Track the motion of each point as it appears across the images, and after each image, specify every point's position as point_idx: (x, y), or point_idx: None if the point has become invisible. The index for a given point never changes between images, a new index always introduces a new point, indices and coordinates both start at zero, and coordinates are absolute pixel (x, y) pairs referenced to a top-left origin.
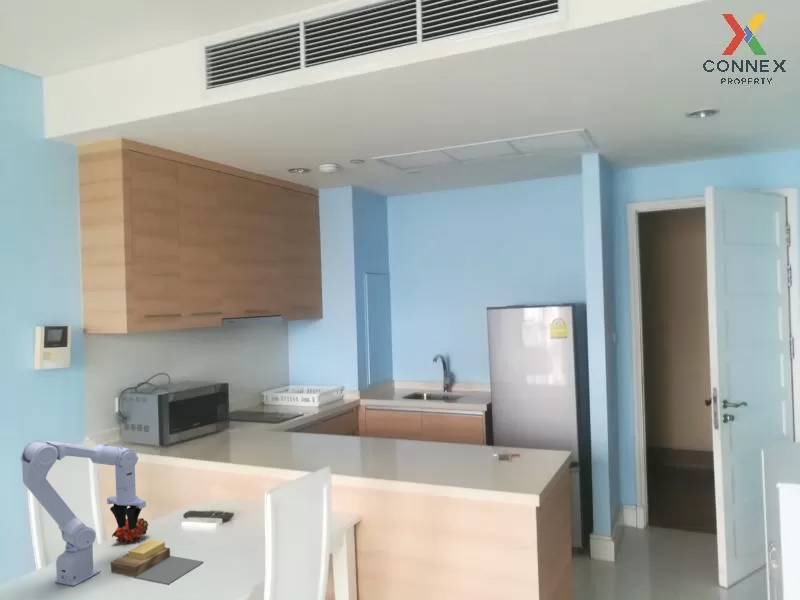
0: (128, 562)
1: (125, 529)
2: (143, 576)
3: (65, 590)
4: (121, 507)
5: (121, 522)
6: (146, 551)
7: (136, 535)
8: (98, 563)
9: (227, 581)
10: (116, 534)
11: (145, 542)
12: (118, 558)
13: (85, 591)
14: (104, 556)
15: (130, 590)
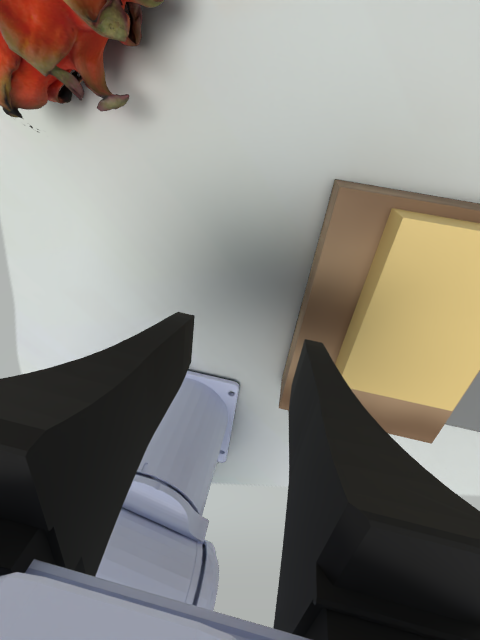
0: (367, 407)
1: (54, 63)
2: (457, 414)
3: (219, 472)
4: (83, 519)
5: (175, 377)
6: (462, 389)
7: (137, 2)
8: (167, 316)
9: None
10: (28, 103)
11: (387, 271)
12: (288, 375)
13: (286, 478)
14: (133, 250)
15: (444, 480)
